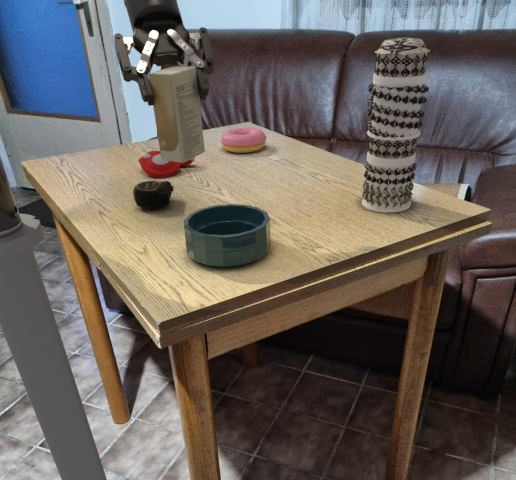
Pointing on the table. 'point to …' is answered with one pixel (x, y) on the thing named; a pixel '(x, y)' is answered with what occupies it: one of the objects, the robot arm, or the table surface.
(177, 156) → the cosmetic box
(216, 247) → the bowl
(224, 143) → the doughnut
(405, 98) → the white patterned cylinder
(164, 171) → the tracker holder
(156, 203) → the tape measure
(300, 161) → the table surface
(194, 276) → the table surface
